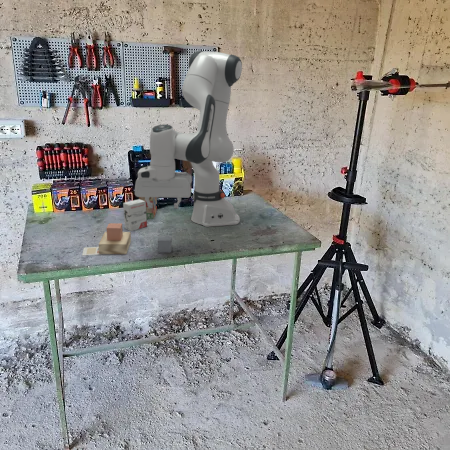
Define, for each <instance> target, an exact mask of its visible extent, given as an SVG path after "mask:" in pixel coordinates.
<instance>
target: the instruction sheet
mask: <svg viewBox="0 0 450 450" xmlns="http://www.w3.org/2000/svg"><path fill="white" fill-rule="evenodd" d="M97 255H101V254H99V246H90V247H89V246H88V247H87V246H86V247H83V251H82V255H81V256H83V257H84V256H97Z"/></svg>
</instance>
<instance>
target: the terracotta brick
mask: <svg viewBox="0 0 450 450" xmlns="http://www.w3.org/2000/svg"><path fill="white" fill-rule="evenodd" d="M105 229H106V232H107V240H113V241H121V239H122V236H123V232H124V231H123V223H122V222H121V223H118V222H117V223H114V222H113V223H112V222H111V223H108V224H107V227H106V228H105Z"/></svg>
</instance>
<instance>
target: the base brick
mask: <svg viewBox="0 0 450 450" xmlns="http://www.w3.org/2000/svg"><path fill="white" fill-rule="evenodd" d="M131 232H132V231H123V236H122V239H121V241H113V240H107V231H104V233H103V234H102V237H101V239H100V240H99V242H98V247H99V254H100V255H127V254H128V251H129V248H130V246H131V245H130V244H131V242H132V237H131V236H132V235H131Z"/></svg>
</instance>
